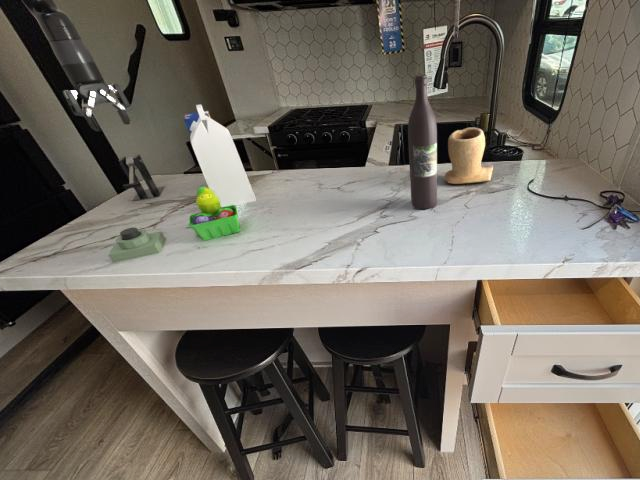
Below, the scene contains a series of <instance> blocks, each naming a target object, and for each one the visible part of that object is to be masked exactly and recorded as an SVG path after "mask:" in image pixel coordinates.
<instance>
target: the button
mask: <svg viewBox="0 0 640 480" xmlns="http://www.w3.org/2000/svg"><path fill="white" fill-rule="evenodd" d="M138 230H139V229H138V228H137V227H128V228H125V229H123V230H121V231H120V232H119V236H122V238H123V239H124V240H130V239H134V238H136V237H138V236H140V235H141V234H140V232H139V231H138Z"/></svg>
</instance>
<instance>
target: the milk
mask: <svg viewBox="0 0 640 480" xmlns="http://www.w3.org/2000/svg"><path fill="white" fill-rule="evenodd" d="M195 107H196V111H197V112H198V113H199V116H200V117H199V119H198V121H197V122H195V121H193V123H192V125H191V127H190V130H191V131H192V133H191V135H190V134H189V135H190V136H189V137H190V138H189V139H190V144H191V147H192V150H193V152H194V155H195V157H196V160H197V162H198V165H199V167H200V169H201V172H202V174H203V177H204V180H205V182H206V185H207V186H208V187H207V188H209V189H211V190H212V191H213V192H214V194H215V195H216V196H217V197H218V199H219V200H220V206H221V207H225V206H230V205H236V207H237V206H241V205H246V204H249V203H250V204H251V203H254V202H257V201H258V200H257V198H256V195H255V192H254V190H253V188H252V185H251V183H250V180H249V178H248V175H247V173H246V170H245V168H244V165H243V163H242V160H241V157H240V154H239V152H238V149H237V147H236V144H235V142H234V139H233V137H232V134H231V133H230V131H229V129H228V128H226V127H225V126H224V125H222V124H220V123H219V122H217V121H216V120H215V119H212V117H211V118H209V117H208V116H206V115H205V113H204V111H205V110H204V108H203V105H202V104H195Z"/></svg>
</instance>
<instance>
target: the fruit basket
mask: <svg viewBox="0 0 640 480" xmlns="http://www.w3.org/2000/svg"><path fill="white" fill-rule="evenodd" d="M195 204H196V206H197V208H198V209H199V210H200V212H197V213H193V214H191V215H190V216H189V218H188V226H189V227H190V228H191V229H192V230H193V231H194V232H195V233H196V234H197V236H198V237H199V238H200V239H201V240H202V241H203V242H205V241H209V240H212V239H217V238H221V237H225V236H228V235H232V234H236V233H240V231H241V230H240V224H239V223H240V222H239V214H238V209H237V206H236V205H230V206H225V207H221V206H220V200H219V199H218V197H217V196H216V195H215V194H214V192H213V191H212V190H211V189H209V187H207V186H206V185H205V186H200V187H198V188H197V189H196V200H195Z"/></svg>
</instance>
